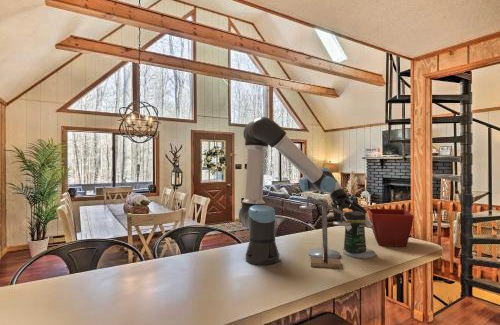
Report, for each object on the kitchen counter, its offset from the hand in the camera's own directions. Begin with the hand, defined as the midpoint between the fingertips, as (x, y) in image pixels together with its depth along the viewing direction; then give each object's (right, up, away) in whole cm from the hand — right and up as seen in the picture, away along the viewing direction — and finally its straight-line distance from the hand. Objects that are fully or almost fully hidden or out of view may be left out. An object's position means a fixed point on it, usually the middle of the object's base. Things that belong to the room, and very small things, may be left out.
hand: (360, 227), depth 131 cm
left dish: (-17, -13, -1) cm, 21 cm away
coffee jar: (-2, -11, 0) cm, 11 cm away
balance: (-20, -12, -13) cm, 27 cm away
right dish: (-1, -12, +1) cm, 12 cm away
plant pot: (+23, -13, +18) cm, 32 cm away
